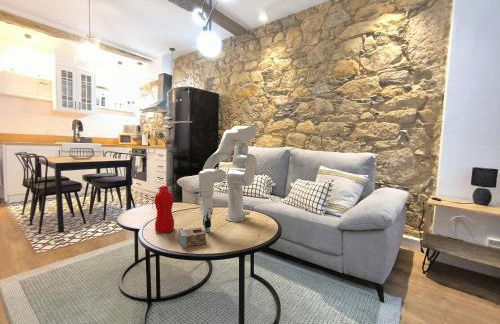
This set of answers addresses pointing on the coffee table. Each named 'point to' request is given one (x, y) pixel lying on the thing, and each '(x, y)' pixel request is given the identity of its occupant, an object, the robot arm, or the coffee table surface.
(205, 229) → the dowel
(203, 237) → the block
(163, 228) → the water bottle
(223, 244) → the coffee table surface
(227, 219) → the robot arm
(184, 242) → the wall
